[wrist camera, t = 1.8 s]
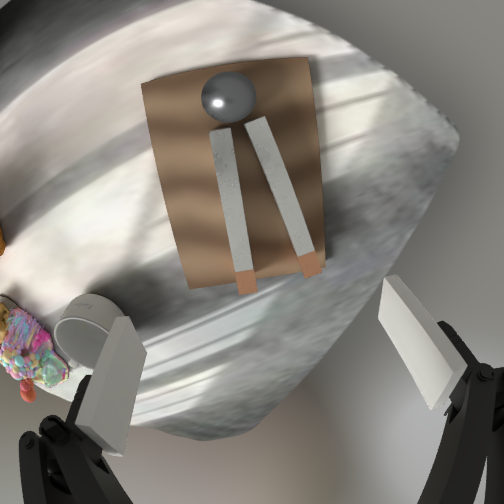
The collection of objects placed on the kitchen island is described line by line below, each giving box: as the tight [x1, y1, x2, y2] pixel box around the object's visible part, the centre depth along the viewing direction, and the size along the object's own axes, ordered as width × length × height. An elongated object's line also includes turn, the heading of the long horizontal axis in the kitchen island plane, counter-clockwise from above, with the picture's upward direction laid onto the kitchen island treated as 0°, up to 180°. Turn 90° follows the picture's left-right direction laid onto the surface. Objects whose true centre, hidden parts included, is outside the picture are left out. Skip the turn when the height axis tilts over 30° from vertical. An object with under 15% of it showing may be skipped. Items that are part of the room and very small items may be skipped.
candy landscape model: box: [0, 296, 69, 402], centre depth 39 cm, size 25×24×9 cm
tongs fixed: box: [201, 71, 258, 295], centre depth 29 cm, size 24×5×4 cm, turn 8°
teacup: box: [54, 294, 124, 370], centre depth 36 cm, size 14×11×8 cm
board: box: [141, 57, 325, 289], centre depth 31 cm, size 26×18×2 cm
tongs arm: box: [243, 116, 322, 279], centre depth 30 cm, size 18×2×4 cm, turn 22°
